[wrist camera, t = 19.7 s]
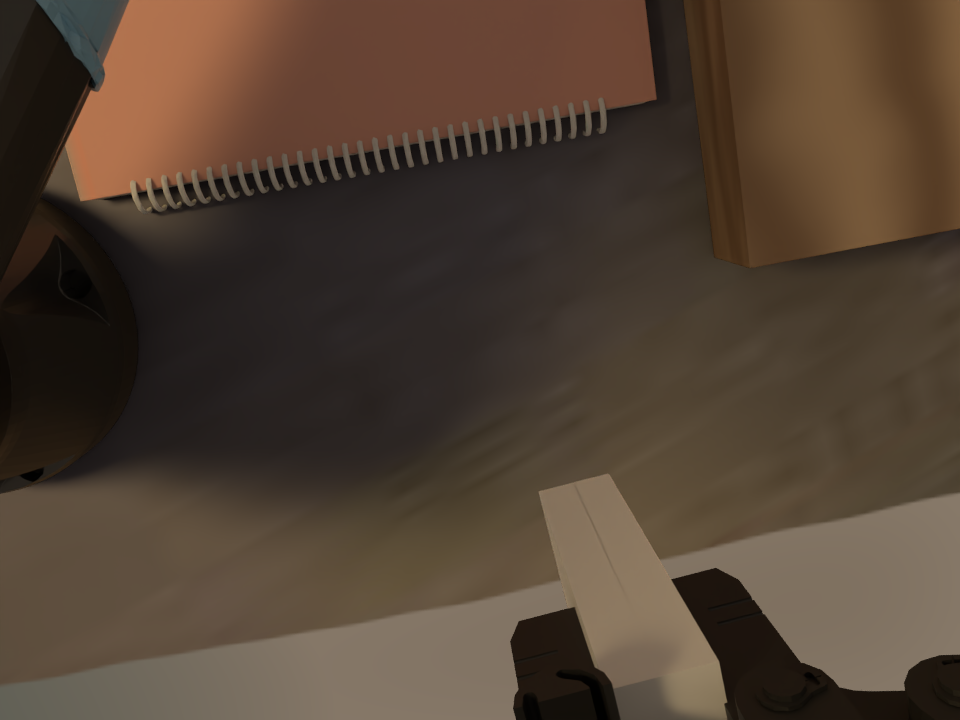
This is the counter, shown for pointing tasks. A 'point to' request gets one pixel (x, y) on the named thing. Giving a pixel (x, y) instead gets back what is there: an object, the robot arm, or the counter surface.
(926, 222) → the walnut stand
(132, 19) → the notebook
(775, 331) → the counter surface
